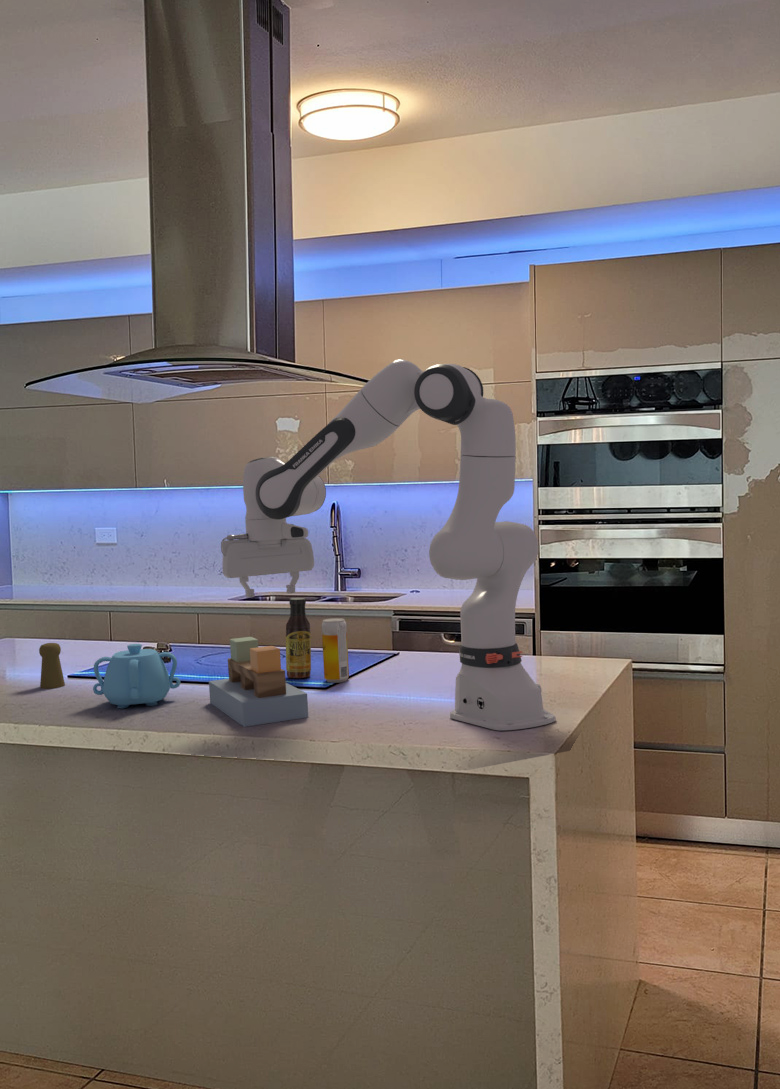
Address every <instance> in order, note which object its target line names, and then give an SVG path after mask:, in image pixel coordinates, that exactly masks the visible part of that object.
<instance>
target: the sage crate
mask: <svg viewBox="0 0 780 1089" xmlns="http://www.w3.org/2000/svg"><path fill="white" fill-rule="evenodd" d="M257 647H259V639H257V638H255V637H253V636H245V637H238V638H230V639H229V648H230V649H229V650H230V658H231V659H232V660H234V661H236V662H244V661H250V648H257Z"/></svg>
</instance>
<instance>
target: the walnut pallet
mask: <svg viewBox="0 0 780 1089" xmlns="http://www.w3.org/2000/svg"><path fill="white" fill-rule="evenodd" d="M227 669H228V679H229V681H231V682H232V683H234V682H241V688H242V689H244V690H250V689H254V696H256V697H258V698H264V697H271V696H278V695H285V694H286V683H287V681H286V670H285V669H282V668H281V670H279V671H271V672H264V673H257V672H255V671H253V670H251V661H244V662H236V661H234V660H232V659H231V657H230V658H227Z"/></svg>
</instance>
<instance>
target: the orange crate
mask: <svg viewBox="0 0 780 1089" xmlns="http://www.w3.org/2000/svg"><path fill="white" fill-rule="evenodd" d="M281 660H282V659H281V649H280V648H279V647H277V646H273V645H266V646H258V647H257V648H250V661H251V670H253V671H255V672H257V673H264V672H271V671H279V670H281V669H282V663H281V662H282V661H281Z"/></svg>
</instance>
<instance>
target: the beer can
mask: <svg viewBox="0 0 780 1089" xmlns="http://www.w3.org/2000/svg"><path fill="white" fill-rule="evenodd" d="M347 629H348V626H347V622H346V620H345V618H340V617H336V618H335V617H333V618H326V619H322V623H321V637H322V638H321V640H322V641H321V642H322V658H323V661H322V662H323V675H324V676H323V678H324V679H325V681H326V682H327V683H333V684H338V683H344V682H345V683H346V682H347V681H348V679H349V677H350V668H349V667H350V666H349V649H348V647H349V646H348V632H347V631H348V630H347Z"/></svg>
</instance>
